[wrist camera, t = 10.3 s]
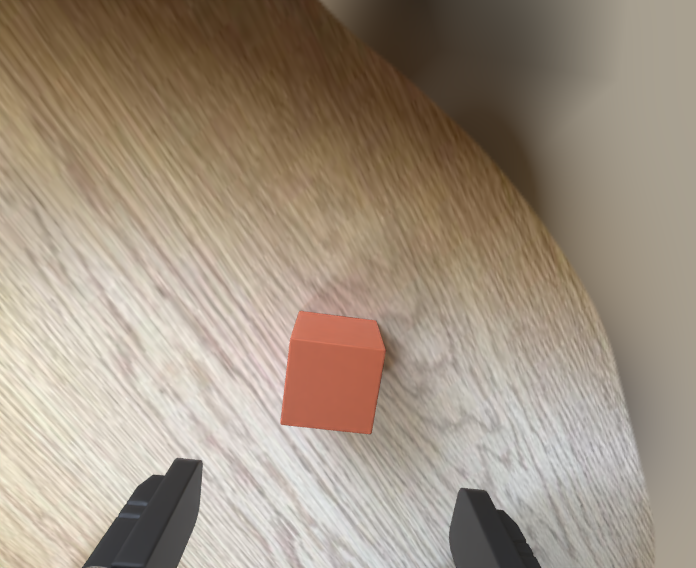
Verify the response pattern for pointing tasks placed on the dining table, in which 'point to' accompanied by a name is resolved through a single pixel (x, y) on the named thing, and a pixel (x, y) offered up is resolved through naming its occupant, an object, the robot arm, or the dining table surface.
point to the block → (333, 373)
